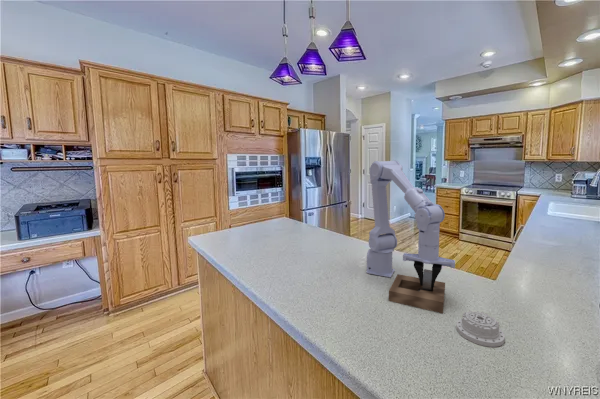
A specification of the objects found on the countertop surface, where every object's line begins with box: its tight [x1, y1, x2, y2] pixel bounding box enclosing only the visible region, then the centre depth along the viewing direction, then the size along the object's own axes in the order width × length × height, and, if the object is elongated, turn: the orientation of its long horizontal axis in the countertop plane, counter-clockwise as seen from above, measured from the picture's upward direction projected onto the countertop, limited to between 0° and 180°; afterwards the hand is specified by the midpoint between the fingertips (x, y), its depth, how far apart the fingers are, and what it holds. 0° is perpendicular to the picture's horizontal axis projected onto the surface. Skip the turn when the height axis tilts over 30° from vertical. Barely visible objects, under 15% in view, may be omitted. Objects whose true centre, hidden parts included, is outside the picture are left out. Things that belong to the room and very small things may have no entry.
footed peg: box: [418, 268, 433, 292], centre depth 82 cm, size 5×5×9 cm
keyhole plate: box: [388, 273, 446, 314], centre depth 83 cm, size 15×14×3 cm
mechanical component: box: [455, 310, 506, 348], centre depth 65 cm, size 10×4×10 cm
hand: (427, 285), depth 82 cm, fingers closed on footed peg, 2 cm apart
